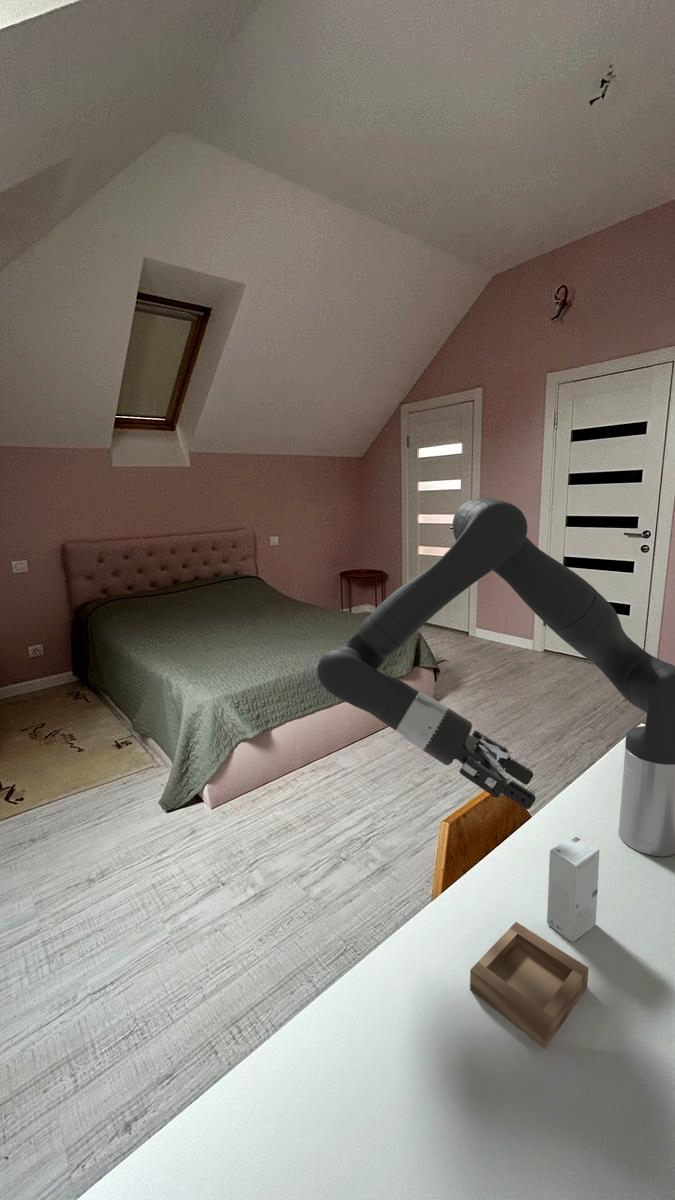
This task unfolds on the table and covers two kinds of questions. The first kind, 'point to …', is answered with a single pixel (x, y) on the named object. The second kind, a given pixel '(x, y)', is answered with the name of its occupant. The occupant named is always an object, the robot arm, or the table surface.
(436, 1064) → the table surface
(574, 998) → the wooden tray
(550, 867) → the skincare box
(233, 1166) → the table surface
